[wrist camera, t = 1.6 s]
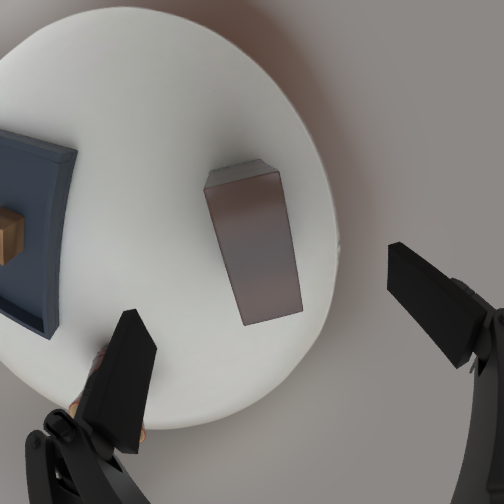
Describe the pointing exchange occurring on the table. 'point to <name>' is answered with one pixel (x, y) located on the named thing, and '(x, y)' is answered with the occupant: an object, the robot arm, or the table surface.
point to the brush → (255, 239)
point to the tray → (34, 228)
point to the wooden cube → (10, 234)
